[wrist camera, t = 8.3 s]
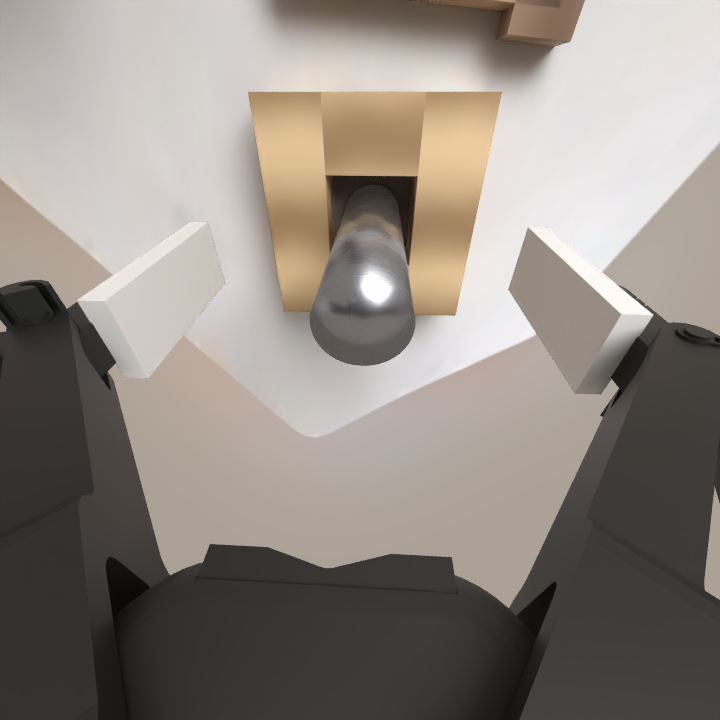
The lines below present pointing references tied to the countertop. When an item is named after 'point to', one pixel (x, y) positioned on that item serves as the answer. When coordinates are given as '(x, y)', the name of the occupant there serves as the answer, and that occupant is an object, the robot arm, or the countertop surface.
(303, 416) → the countertop surface
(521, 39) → the bar
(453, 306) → the socket block
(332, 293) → the pin
